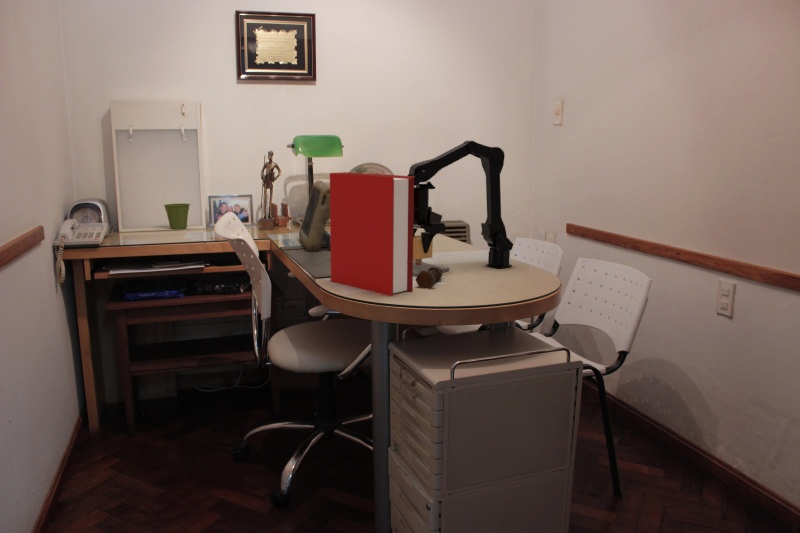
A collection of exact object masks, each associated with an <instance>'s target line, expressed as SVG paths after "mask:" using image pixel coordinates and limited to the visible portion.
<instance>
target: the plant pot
mask: <svg viewBox="0 0 800 533" xmlns="http://www.w3.org/2000/svg"><path fill="white" fill-rule="evenodd" d="M163 206H164V209H165V212H166V215H167V216H166V217H167V219H168V223H169V228H170V229H171V230H173V229H174V230H183V229H187V227H188V218H189V217H188V216H189V211H190V206H191V203H168V204H163Z"/></svg>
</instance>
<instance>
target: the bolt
mask: <svg viewBox="0 0 800 533" xmlns="http://www.w3.org/2000/svg"><path fill="white" fill-rule="evenodd" d="M443 273H444V272H442V270H441V269H440V268H439V267H430V268H429V270H428V271H420V273H419V274H418V276H417V277H416V278H415V282H416V284H417V286H418V287H419V289H426V288H427V289H432V288H433V287H434V284H435V283H438V282H439V281H440V280H441V278H443ZM427 289H426V290H427Z"/></svg>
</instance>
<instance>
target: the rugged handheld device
mask: <svg viewBox="0 0 800 533" xmlns="http://www.w3.org/2000/svg"><path fill="white" fill-rule="evenodd" d="M310 190H311V191H310V194H309V198H308V203H307V205H306V209H305V213H304V217H303V219H302V222H301V226H300V228H299V233H298V236H299V240H300V243H301V244H302V245H303V246H304V248H305V250H306V251H311V252H317V251H319V250H320V249H321V248H322V245H323V243H325V244H326V246H327V249H328V251H331V241H330V232H328V231H327V230H326V229H325V228H326V225H327V222H328V220H330V184H326V183H325V182H324V181H322V180H316V181H314V183H313V184H312V187H311V189H310Z"/></svg>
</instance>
